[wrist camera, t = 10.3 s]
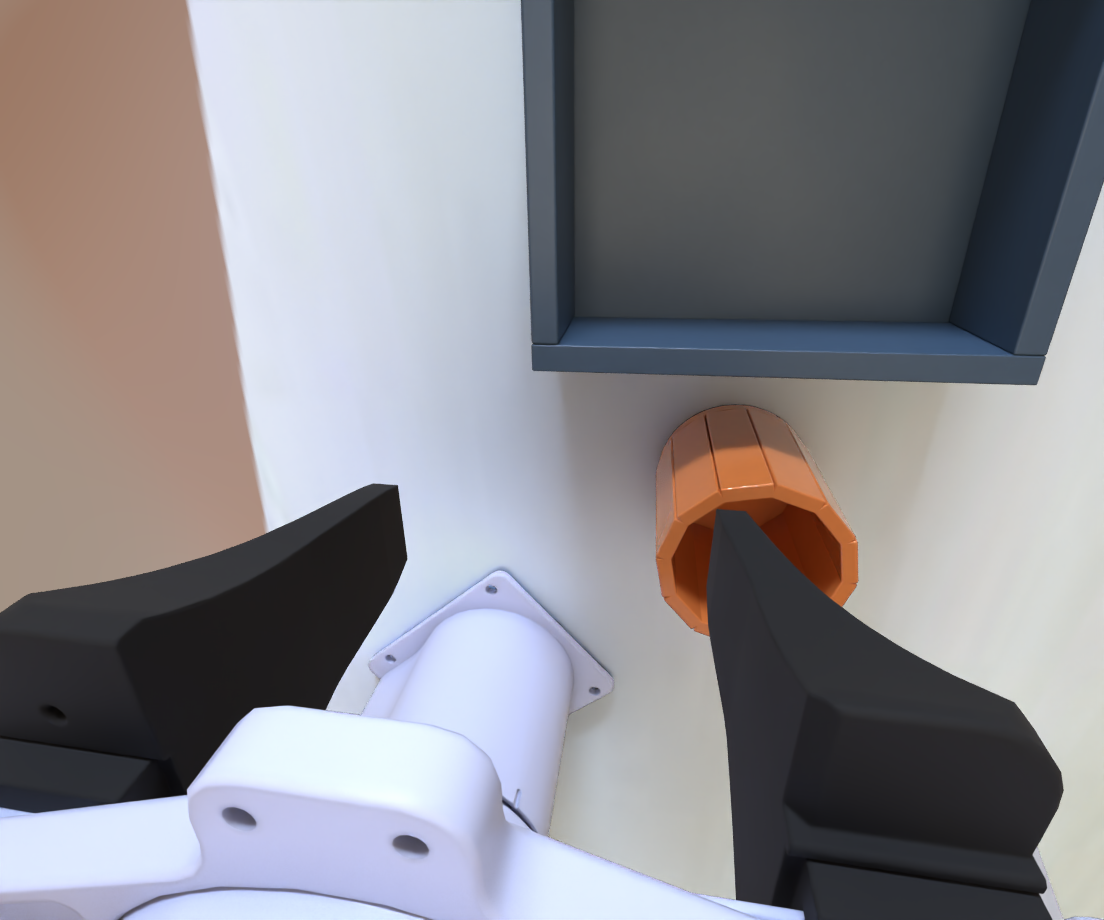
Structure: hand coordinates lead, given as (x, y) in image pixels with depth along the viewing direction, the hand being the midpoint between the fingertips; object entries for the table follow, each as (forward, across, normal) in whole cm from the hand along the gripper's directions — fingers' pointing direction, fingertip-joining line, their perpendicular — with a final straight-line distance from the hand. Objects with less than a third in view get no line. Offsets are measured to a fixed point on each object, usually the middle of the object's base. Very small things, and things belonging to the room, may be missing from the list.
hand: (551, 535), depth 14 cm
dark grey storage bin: (+10, -5, -9) cm, 15 cm away
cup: (+10, -5, +3) cm, 12 cm away
